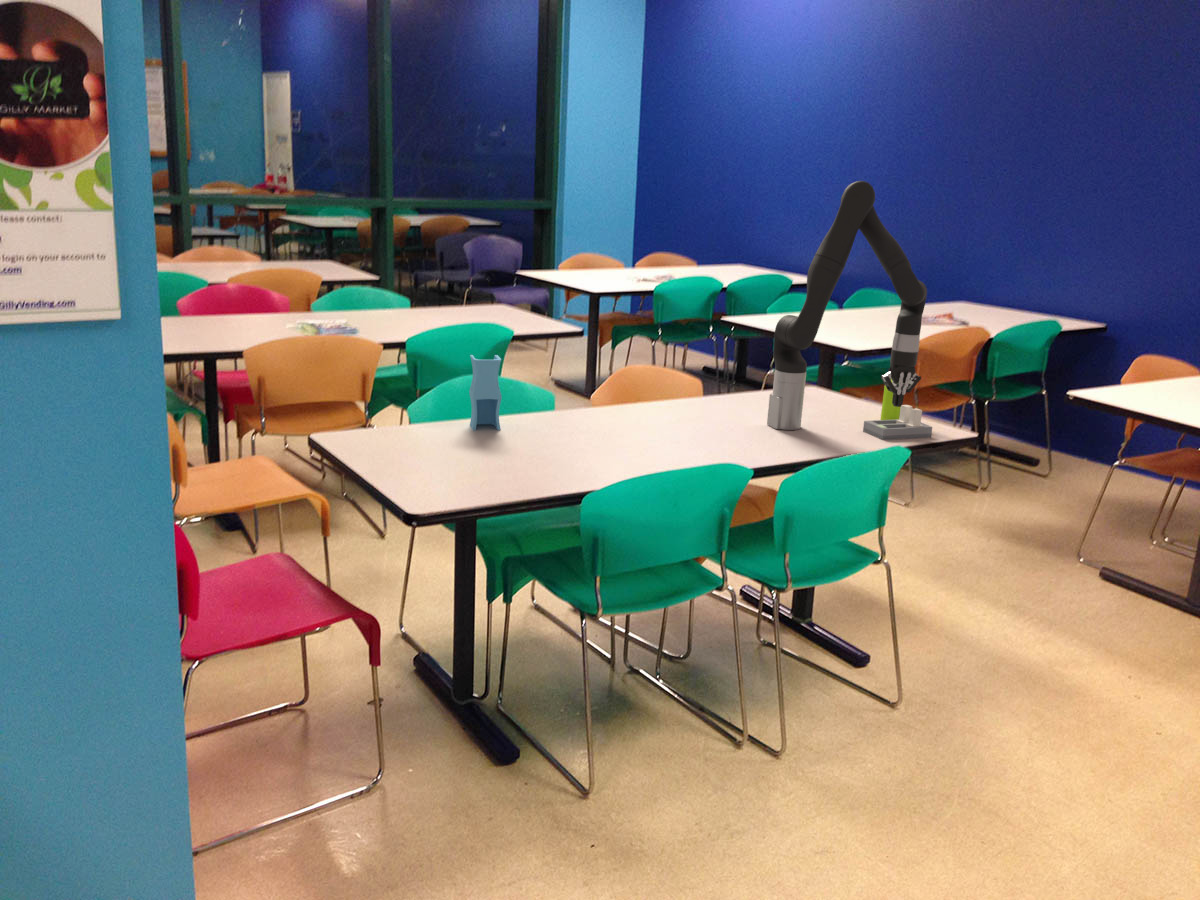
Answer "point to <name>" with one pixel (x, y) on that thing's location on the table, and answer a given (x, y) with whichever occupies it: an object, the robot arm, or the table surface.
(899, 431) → the switch bank
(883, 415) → the soap dispenser
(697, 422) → the table surface
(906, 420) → the tab
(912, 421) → the tab
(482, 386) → the notched blue pillar
